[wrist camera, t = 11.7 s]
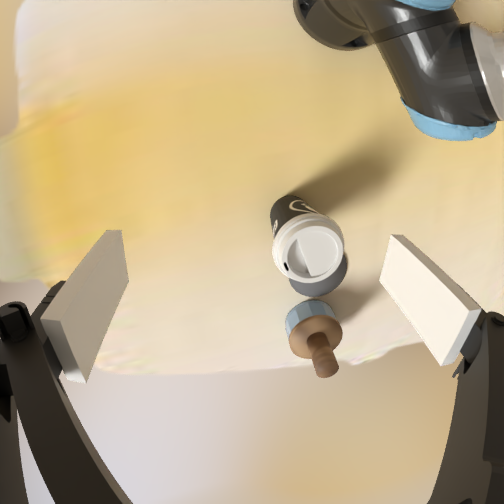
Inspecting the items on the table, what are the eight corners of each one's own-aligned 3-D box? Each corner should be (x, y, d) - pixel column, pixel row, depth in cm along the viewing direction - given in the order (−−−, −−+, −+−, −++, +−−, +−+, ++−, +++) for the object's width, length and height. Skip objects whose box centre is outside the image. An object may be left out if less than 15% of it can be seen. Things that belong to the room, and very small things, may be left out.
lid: (311, 306, 53) (325, 341, 45) (350, 326, 56) (367, 358, 48) (278, 344, 57) (285, 380, 48) (317, 360, 60) (328, 393, 52)
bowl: (305, 292, 58) (312, 307, 53) (341, 311, 61) (349, 326, 56) (275, 327, 61) (279, 344, 57) (312, 343, 64) (317, 359, 60)
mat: (313, 231, 52) (313, 232, 52) (357, 260, 56) (357, 261, 55) (276, 280, 56) (276, 281, 56) (321, 303, 59) (321, 304, 59)
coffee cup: (261, 186, 48) (276, 219, 35) (319, 186, 49) (353, 218, 35) (260, 241, 52) (273, 290, 39) (314, 239, 53) (343, 286, 40)
